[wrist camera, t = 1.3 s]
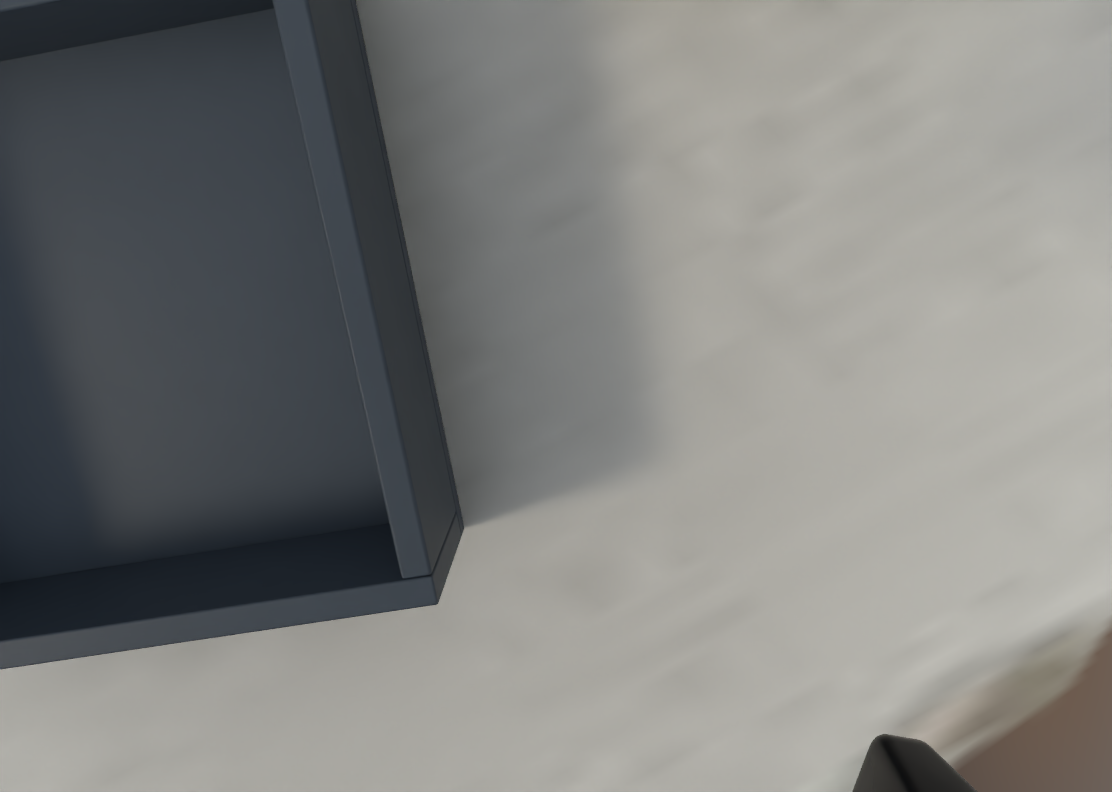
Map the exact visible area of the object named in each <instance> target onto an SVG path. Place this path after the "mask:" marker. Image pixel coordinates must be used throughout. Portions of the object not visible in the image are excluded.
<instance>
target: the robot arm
mask: <svg viewBox="0 0 1112 792" xmlns="http://www.w3.org/2000/svg"><path fill="white" fill-rule="evenodd" d="M853 792H977V791H976V790H975V789H974V788H973V787H972V786H971V785H970V784H969V783H968V782H967V781H966V780H965V779H964V778H963V777H961V775H959V774H958V773H957V772H956V771H955V770H954V769H953V768H952V767H951V766H950V765H949V764H948V763H947V762H946V761H945V760H944V759H943V758H942V757H941V756H940V755H939V754H938V753H937V752H935V751H934V750H933V749H932V748H931V747H930V746H929V745H928V744H926V743H925V742H923V741H921V740H917V739H912V738H906V737H900V736H894V735H888V734H882V735H879V736H877V737H876V738H875V739H874V740H873V741H872V743H871V745H870V747H869V749H868V752H867V755H866V757H865V760H864V763H863V765H862V768H861V771H860V773H859V776H858V778H857V781H856V784H855V786H854V789H853Z"/></svg>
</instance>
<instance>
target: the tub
mask: <svg viewBox="0 0 1112 792" xmlns="http://www.w3.org/2000/svg"><path fill="white" fill-rule="evenodd" d="M463 530H464V525H463V520H462V515H461V510H460V506H459V501H458V496H457V491H456V486H455V481H454V476H453V472H452V467H451V462H450V457H449V452H448V447H447V442H446V438H445V433H444V428H443V423H442V418H441V413H440V408H439V404H438V399H437V394H436V389H435V384H434V379H433V374H432V370H431V365H430V360H429V355H428V350H427V345H426V340H425V335H424V331H423V326H422V321H421V316H420V311H419V306H418V301H417V297H416V292H415V287H414V282H413V277H412V272H411V267H410V263H409V258H408V253H407V248H406V243H405V238H404V233H403V229H402V224H401V219H400V214H399V209H398V204H397V199H396V195H395V190H394V185H393V180H392V175H391V170H390V165H389V161H388V156H387V151H386V146H385V141H384V136H383V131H382V126H381V122H380V117H379V112H378V107H377V102H376V97H375V92H374V88H373V83H372V78H371V73H370V68H369V63H368V58H367V54H366V49H365V44H364V39H363V34H362V29H361V24H360V20H359V15H358V10H357V5H356V0H0V669H6V668H13V667H19V666H26V665H33V664H40V663H46V662H53V661H60V660H66V659H73V658H80V657H87V656H93V655H100V654H107V653H114V652H120V651H127V650H134V649H140V648H147V647H154V646H161V645H167V644H174V643H181V642H188V641H194V640H201V639H208V638H215V637H221V636H228V635H235V634H241V633H248V632H255V631H262V630H268V629H275V628H282V627H289V626H295V625H302V624H309V623H315V622H322V621H329V620H336V619H342V618H349V617H356V616H363V615H369V614H376V613H383V612H389V611H396V610H403V609H410V608H416V607H423V606H430V605H436V604H438V602H439V599H440V596H441V593H442V590H443V588H444V585H445V582H446V579H447V576H448V573H449V570H450V567H451V564H452V562H453V559H454V556H455V553H456V550H457V547H458V544H459V541H460V538H461V536H462V533H463Z"/></svg>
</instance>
